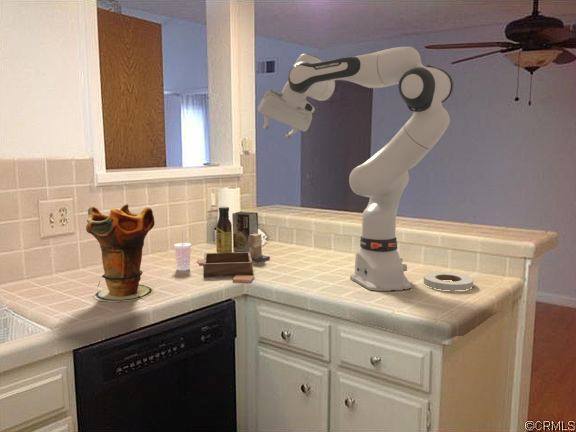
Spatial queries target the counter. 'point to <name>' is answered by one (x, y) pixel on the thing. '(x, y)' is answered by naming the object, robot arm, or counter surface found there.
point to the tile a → (200, 261)
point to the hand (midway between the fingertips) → (276, 133)
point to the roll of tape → (458, 281)
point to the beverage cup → (182, 255)
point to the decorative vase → (121, 251)
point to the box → (227, 264)
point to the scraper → (256, 248)
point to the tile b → (243, 278)
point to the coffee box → (243, 229)
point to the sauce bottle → (224, 232)
